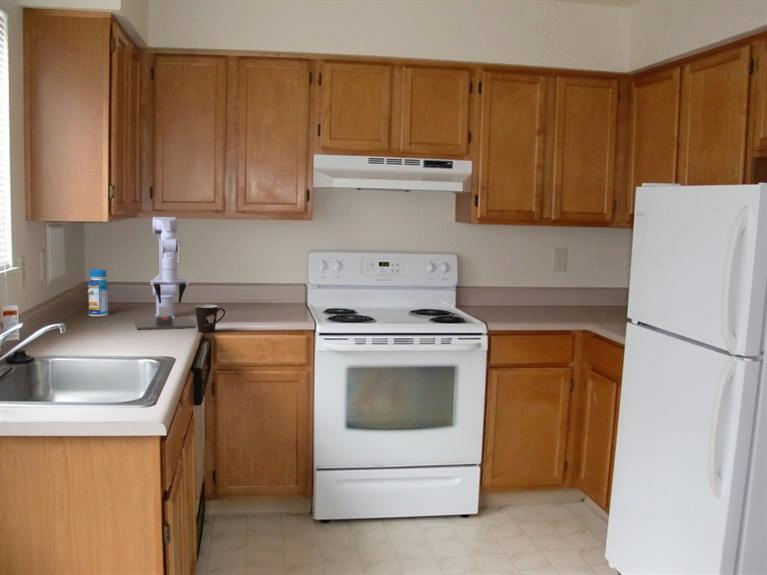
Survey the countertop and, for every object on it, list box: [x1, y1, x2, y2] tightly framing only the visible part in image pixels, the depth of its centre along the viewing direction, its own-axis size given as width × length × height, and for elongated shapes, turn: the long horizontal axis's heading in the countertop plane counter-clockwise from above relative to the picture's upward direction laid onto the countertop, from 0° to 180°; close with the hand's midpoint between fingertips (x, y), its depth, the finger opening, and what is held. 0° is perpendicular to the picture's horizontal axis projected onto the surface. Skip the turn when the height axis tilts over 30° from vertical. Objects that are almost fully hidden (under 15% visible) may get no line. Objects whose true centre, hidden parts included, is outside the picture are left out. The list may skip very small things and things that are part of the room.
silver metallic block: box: [159, 306, 169, 317], centre depth 306 cm, size 4×4×6 cm
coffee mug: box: [194, 304, 226, 334], centre depth 293 cm, size 12×9×10 cm
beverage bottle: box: [87, 268, 109, 317], centre depth 327 cm, size 8×8×20 cm
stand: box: [133, 315, 196, 331], centre depth 306 cm, size 22×22×4 cm
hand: (169, 302), depth 299 cm, fingers open, 7 cm apart
